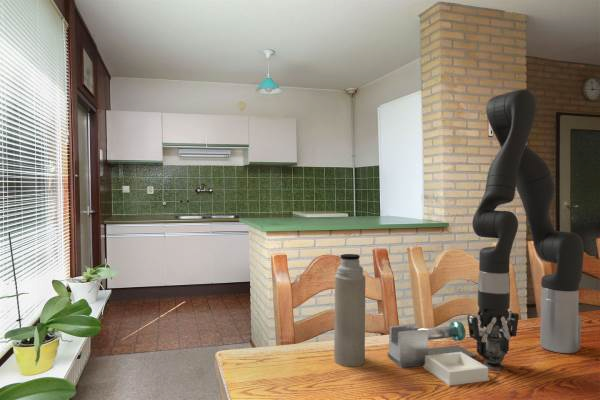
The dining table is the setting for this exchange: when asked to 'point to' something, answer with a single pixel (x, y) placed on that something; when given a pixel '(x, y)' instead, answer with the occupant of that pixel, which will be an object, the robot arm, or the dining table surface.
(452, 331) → the shaft
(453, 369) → the holder
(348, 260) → the thermos bottle
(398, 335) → the bearing block
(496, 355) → the dark grey turned piece
